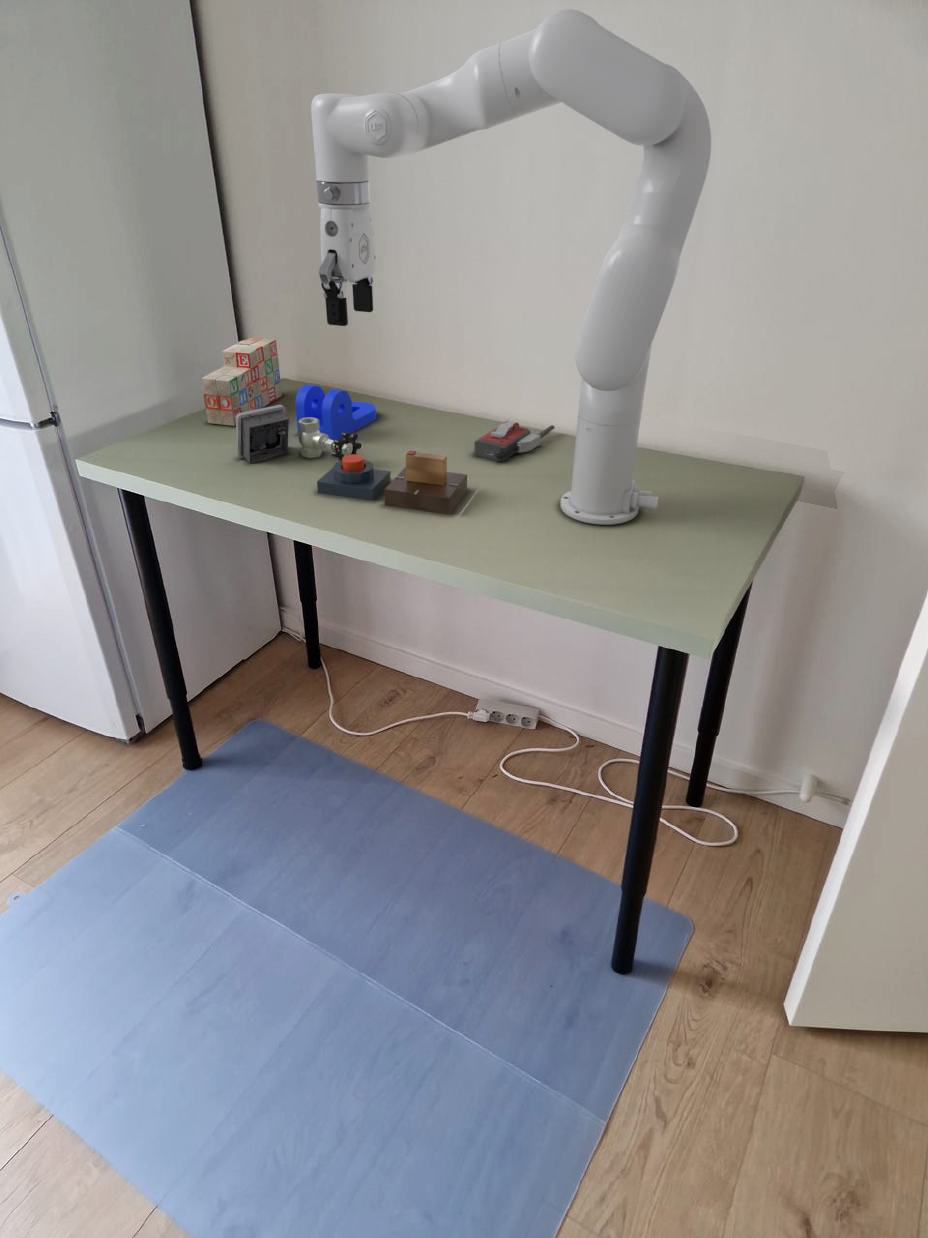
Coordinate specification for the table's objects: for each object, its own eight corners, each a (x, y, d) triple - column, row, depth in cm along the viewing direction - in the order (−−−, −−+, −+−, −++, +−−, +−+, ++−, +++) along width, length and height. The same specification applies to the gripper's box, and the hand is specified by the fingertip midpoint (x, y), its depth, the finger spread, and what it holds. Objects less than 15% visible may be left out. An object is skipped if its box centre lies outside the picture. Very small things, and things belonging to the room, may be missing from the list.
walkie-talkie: (510, 467, 147) (557, 434, 161) (511, 444, 144) (559, 412, 159) (468, 457, 150) (518, 426, 165) (468, 434, 148) (519, 404, 162)
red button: (367, 465, 137) (367, 455, 136) (359, 473, 134) (358, 463, 133) (348, 462, 138) (347, 453, 137) (339, 470, 135) (338, 460, 134)
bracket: (333, 442, 156) (329, 396, 151) (298, 435, 159) (293, 389, 154) (383, 415, 169) (381, 372, 165) (350, 408, 173) (347, 366, 168)
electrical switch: (282, 447, 154) (279, 400, 148) (295, 457, 151) (292, 410, 145) (236, 458, 149) (230, 410, 143) (248, 469, 146) (243, 421, 140)
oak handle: (446, 481, 133) (446, 454, 131) (443, 485, 132) (443, 458, 129) (409, 476, 135) (409, 449, 132) (406, 480, 134) (405, 453, 131)
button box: (390, 482, 140) (389, 461, 138) (373, 501, 134) (371, 478, 132) (337, 475, 143) (336, 454, 141) (317, 493, 136) (315, 471, 134)
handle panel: (467, 490, 138) (467, 472, 136) (448, 516, 130) (448, 498, 128) (407, 481, 141) (406, 464, 139) (384, 506, 132) (383, 488, 130)
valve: (290, 457, 150) (336, 473, 143) (286, 422, 146) (333, 437, 140) (317, 447, 154) (362, 462, 148) (313, 413, 150) (360, 427, 144)
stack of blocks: (235, 427, 163) (226, 365, 156) (207, 424, 164) (197, 362, 157) (282, 395, 180) (276, 338, 173) (257, 392, 181) (249, 335, 175)
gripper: (342, 202, 110) (350, 332, 119) (390, 190, 123) (393, 308, 133) (292, 199, 111) (303, 328, 121) (344, 188, 125) (351, 304, 135)
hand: (351, 317), depth 127 cm, fingers open, 9 cm apart
